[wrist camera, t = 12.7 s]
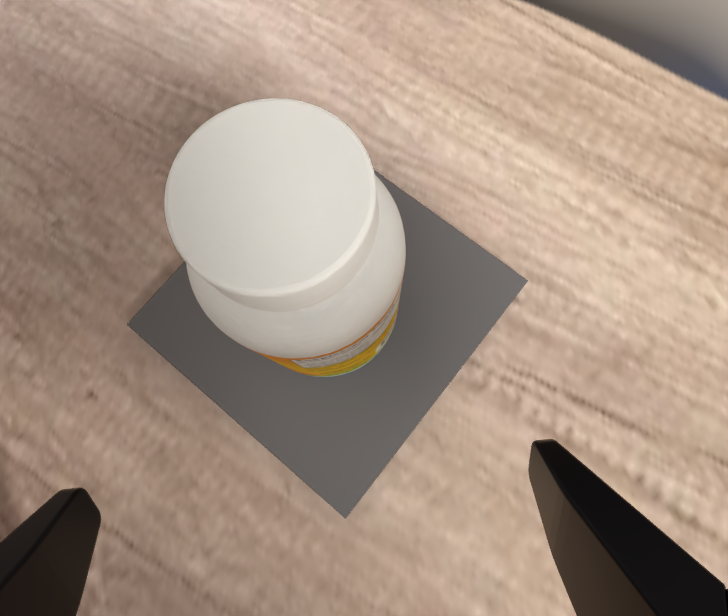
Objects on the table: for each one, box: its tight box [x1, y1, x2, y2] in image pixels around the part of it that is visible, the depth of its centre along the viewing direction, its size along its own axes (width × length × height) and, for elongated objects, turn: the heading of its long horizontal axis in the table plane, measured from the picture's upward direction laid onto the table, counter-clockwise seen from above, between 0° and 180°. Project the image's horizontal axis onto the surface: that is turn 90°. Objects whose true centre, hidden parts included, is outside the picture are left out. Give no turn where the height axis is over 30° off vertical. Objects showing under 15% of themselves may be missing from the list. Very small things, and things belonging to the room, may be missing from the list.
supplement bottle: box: [164, 98, 406, 377], centre depth 13 cm, size 5×5×10 cm
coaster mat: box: [127, 170, 528, 519], centre depth 18 cm, size 11×11×1 cm
